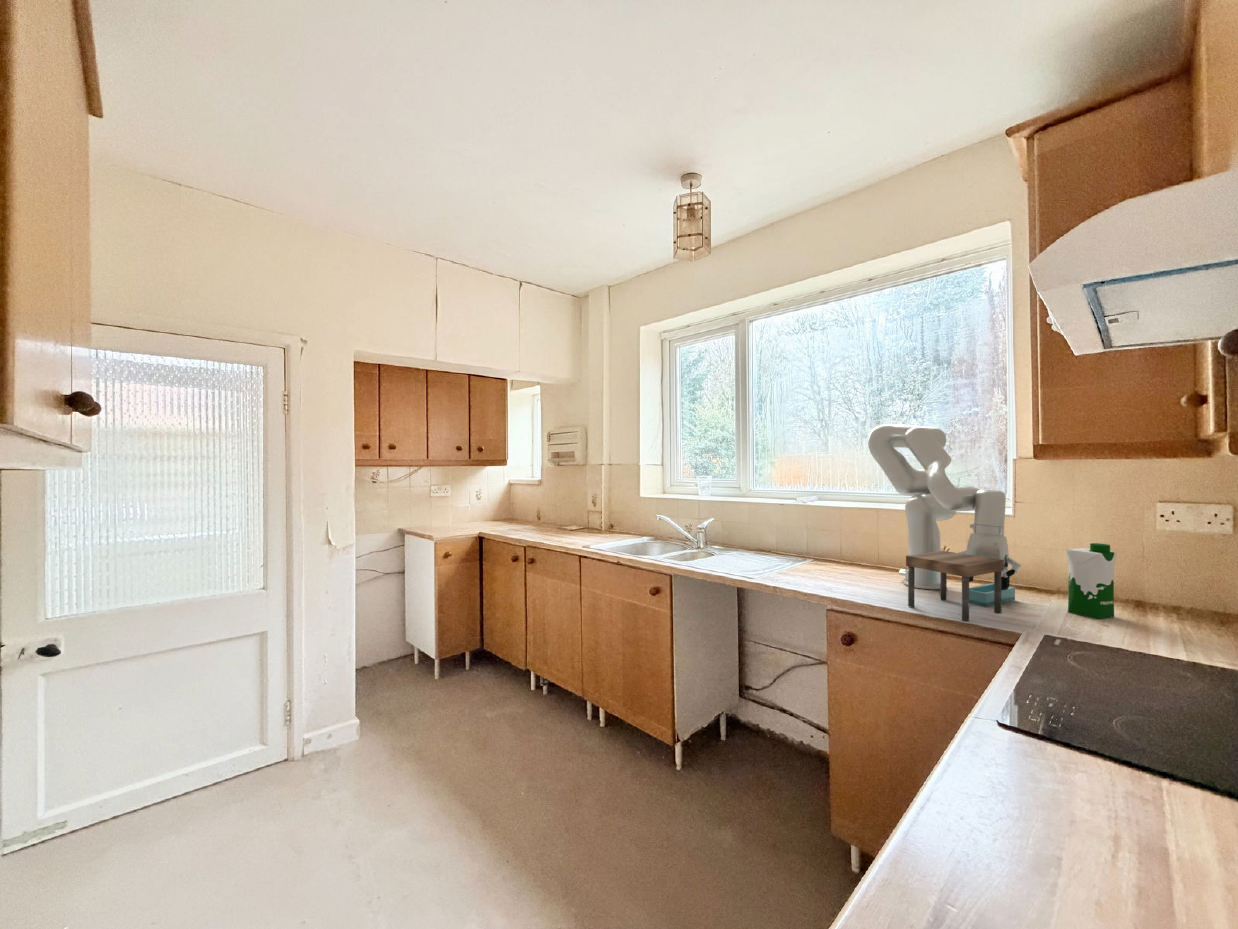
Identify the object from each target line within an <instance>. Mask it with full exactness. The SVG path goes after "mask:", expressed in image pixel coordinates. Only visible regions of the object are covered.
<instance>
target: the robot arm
mask: <svg viewBox="0 0 1238 929" xmlns="http://www.w3.org/2000/svg"><path fill="white" fill-rule="evenodd" d="M867 444H868V451H869V452H870V455H871V456H872V457H873V459H874V460H875V461H876V463H877V464H878V465H879V467H880V468H881V470H882V471H883V473H884V474H885V476H886V478H887V479H888V481H889V482H890V483H891V485H892V487H893V488H894V489H895V491H896V492H897V493H899V494H900V495H902V496H908V497H909V496H910V497H909V498H908V499H907V501H906V503H905V506H904V507H905V508H904V510H905V516H906V522H907V533H908V537H907V539H908V540H907V541H908V542H907V544H908V553H907V554H908V555H915V554H922V553H929V552H937V551H941V532H940V531H941V530H940V528H939V525H938V523H937V522H938V521H939V522H941V521H948V520H950V519H952V518H953V517H954V516H955V515H956V513H957V512H969V511H970V512H973V511H974V521H973V523H972V524H970V525H969V528H970V529H972V532H970V534H969V537H968V540H967V545H966V546H967V547H966V550H964V551H961V552H959V553H960V554H967V555H974V556H980V557H987V558H994V559H1000V560H1004V571H1001V590H1007V589H1008V588H1009V586H1010V579H1011V577H1012V576H1013V575H1015V574H1017V573H1018V571H1019V570H1020V568H1021V567H1022V565H1021V563H1019V562H1018V561H1016V560H1014V559H1013V558H1011V557H1010V556H1009V543H1008V539H1007V536H1005V520H1006V519H1005V518H1006V505H1007V504H1006V501H1007V500H1006V499H1007V498H1006V497H1007V495H1006V493H1005V492H1003V491H1002V490H1001V491H1000V490H994V489H981V488H977V487H966V486H965V487H963V486H961V487H956V486H955V485H954V484H953V483H952V481H951V480H950V479H949V477H948V476H947V474H946V468H948V467H949V465H950V464H951V462H952V457H951V456H950V454H949V453H948V452H947V451H946V449H945V448H944V447H945V446H946V444H947V436H946V434H945V432H944V431H943V430H942V428H941V429H940V428H939V427H936V426H921V425H910V424H890V423H889V424H880V425H878V426H875V427H874V428H872V430H871V431H870V433H869V435H868V442H867ZM896 448H905V449H907V448H908V449H909V450H910V452H911V453H912V455H913V456H914V457H915V459H916V460H917V461H918V463H919V464H920V466H921V467H922V468H923V469H922V468H920V469H919V468H915V467H913V466H912V465H911V464H910V462H909V461H908V460H907V459H906V457H905V456H904V455H903V454H902V453H901V452H899V451H898V450H897V449H896ZM1009 565H1010V566H1012V567H1011V569H1009V568H1008V567H1009ZM898 575H899V576H903V577H904V579H903V580H902V582H903V583H902V584H904V585H905V586H908V569H904V568H900V569H899V571H898ZM974 577H975V576H972V577H969V583H971V582H973V581H974ZM914 588H915V589H923V590H924V589H925V590H940V572H937V571H931V570H926V569H921V568H915V574H914Z"/></svg>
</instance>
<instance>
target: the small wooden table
mask: <svg viewBox="0 0 1238 929" xmlns="http://www.w3.org/2000/svg"><path fill="white" fill-rule="evenodd" d="M905 566H906V567H908V568H907V570H908V585H907V587H908V588H907V590H908V591H907V605H908V606H911V607H910V608H915V587H914V574H915V568H921V569H926V570H931V571H937V572H940V589H939V590H940V593H939V599H941V601H943V600H946V601H947V586H948V585H947V583H948V582H947V574H948V575H954V576H958V577H961V621H963V622H965V623H966V622H968V621H969V622H970V603H969V588H970V582H969V577H972V576H974V577H978V576H980V575H988V574H993V576H994V578H993V579H994V580H993V581H994V582H993V583H994V606H993V608H994V609H993V610H994V611H993V612H994V613H995V614H1002V604H1001V577H1002V574H1001V571H1004V560H1000V559H994V558H987V557H980V556H974V555H967V554H960V552H952V551H945V550H940V551H937V552H929V553H922V554H915V555H905Z"/></svg>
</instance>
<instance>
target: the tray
mask: <svg viewBox="0 0 1238 929" xmlns="http://www.w3.org/2000/svg"><path fill="white" fill-rule="evenodd" d="M1015 601H1016V587H1014V586H1010V585H1009V588H1008V589H1007V590H1001V605H1002V604H1005V603H1006V602H1007V603H1010V602H1011V603H1012V602H1015ZM969 605H975V606H979V607H983V608H989V607H994V582H991V583H987V584H983V585H977V586H971V587H969Z"/></svg>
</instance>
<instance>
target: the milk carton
mask: <svg viewBox="0 0 1238 929" xmlns="http://www.w3.org/2000/svg"><path fill="white" fill-rule="evenodd" d="M1089 545H1090V546H1089V548H1088V547H1087V548H1086V547H1079V548H1069V549H1066V550H1065V551H1066V556H1067V561H1068V563H1067V564H1068V584H1067V585H1068V587H1067V588H1068V589H1067V590H1068V594H1067V595H1068V597H1067V599H1068V601H1067V604H1068V606H1067V613H1070V614H1075V615H1079V616H1082V617H1086V616H1088V617H1087V618H1090V617H1091V619H1094V618H1095V619H1096V620H1103V619H1107V618H1108V619H1110V618H1115V596H1114V595H1115V590H1114V589H1115V588H1114V587H1115V586H1114V584H1115V580H1114V579H1115V564H1116V560H1117V559H1116V558H1117V555H1118V553H1117V552H1116V551H1111V544H1108V543H1107V544H1106V543H1098V542H1097V543H1095V542H1093V543H1091V542H1090V544H1089ZM1095 619H1094V620H1095Z"/></svg>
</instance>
